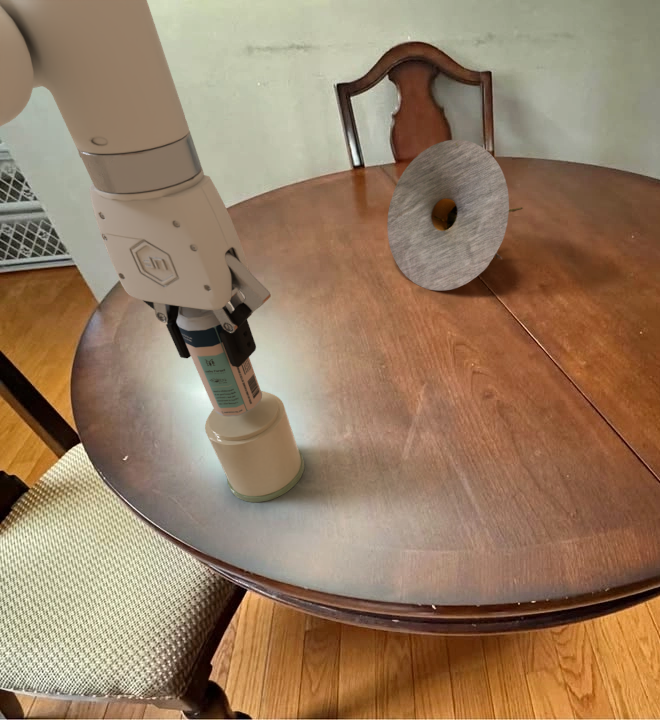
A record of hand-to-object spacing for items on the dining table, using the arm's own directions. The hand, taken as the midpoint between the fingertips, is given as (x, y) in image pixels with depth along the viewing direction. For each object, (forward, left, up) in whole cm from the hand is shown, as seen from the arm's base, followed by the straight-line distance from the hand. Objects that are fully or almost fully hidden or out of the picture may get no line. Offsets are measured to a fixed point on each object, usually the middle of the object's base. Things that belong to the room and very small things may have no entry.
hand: (218, 352), depth 53 cm
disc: (+38, +36, -18) cm, 55 cm away
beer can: (0, 0, -7) cm, 7 cm away
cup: (0, 0, -18) cm, 18 cm away
